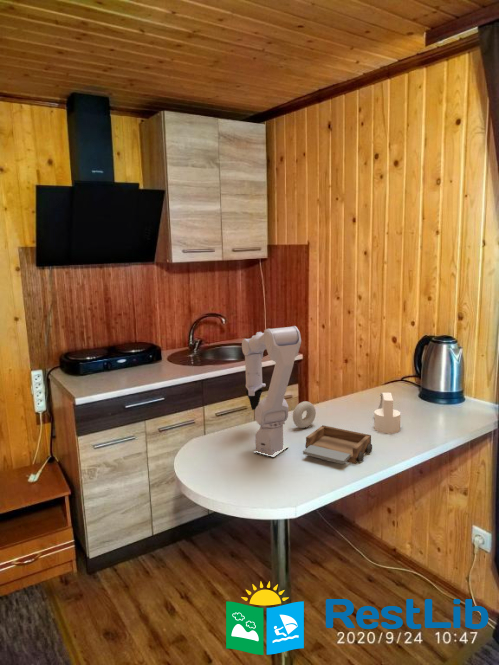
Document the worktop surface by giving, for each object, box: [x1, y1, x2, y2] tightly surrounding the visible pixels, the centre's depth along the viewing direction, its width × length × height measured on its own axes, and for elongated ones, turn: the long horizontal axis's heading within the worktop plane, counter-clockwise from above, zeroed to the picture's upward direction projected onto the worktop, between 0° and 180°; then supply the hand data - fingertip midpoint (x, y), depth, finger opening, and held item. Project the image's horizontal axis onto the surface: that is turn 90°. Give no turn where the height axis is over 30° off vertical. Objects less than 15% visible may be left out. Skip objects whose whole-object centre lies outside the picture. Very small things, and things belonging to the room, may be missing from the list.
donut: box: [292, 400, 317, 429], centre depth 175 cm, size 10×4×10 cm, turn 124°
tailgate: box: [302, 445, 350, 465], centre depth 148 cm, size 2×14×5 cm
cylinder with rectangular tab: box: [373, 392, 401, 434], centre depth 171 cm, size 9×9×12 cm
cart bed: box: [305, 425, 373, 465], centre depth 155 cm, size 12×19×5 cm, turn 55°
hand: (255, 409), depth 169 cm, fingers closed
